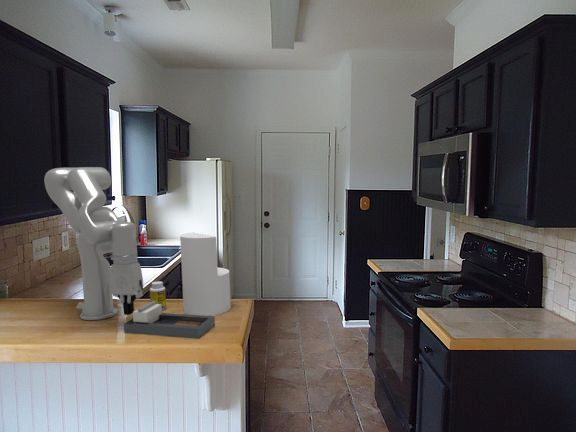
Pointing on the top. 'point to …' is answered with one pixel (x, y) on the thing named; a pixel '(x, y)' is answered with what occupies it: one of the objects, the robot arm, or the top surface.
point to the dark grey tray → (173, 325)
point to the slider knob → (148, 313)
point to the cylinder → (203, 276)
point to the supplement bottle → (158, 294)
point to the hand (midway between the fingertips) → (128, 313)
